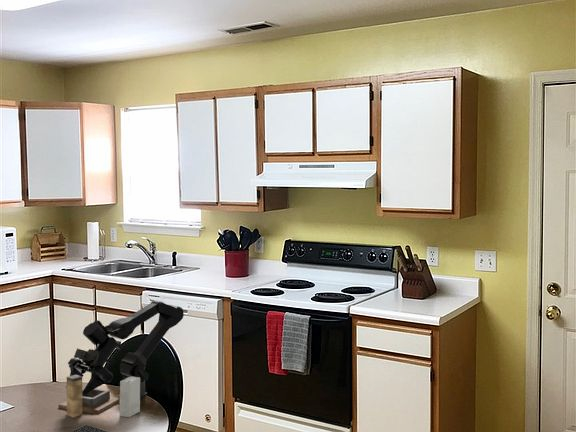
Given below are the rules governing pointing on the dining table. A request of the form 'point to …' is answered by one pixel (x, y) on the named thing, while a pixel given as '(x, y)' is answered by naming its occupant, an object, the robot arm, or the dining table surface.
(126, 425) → the dining table surface
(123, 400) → the skincare box
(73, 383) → the beige tall block
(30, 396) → the dining table surface
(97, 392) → the peg socket base
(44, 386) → the dining table surface
